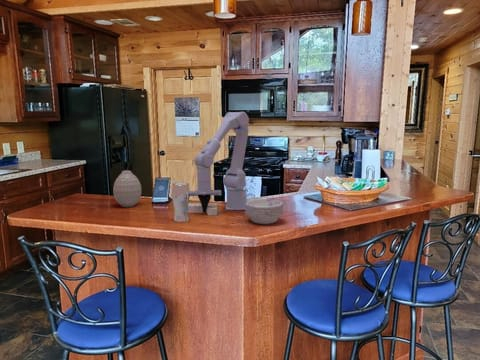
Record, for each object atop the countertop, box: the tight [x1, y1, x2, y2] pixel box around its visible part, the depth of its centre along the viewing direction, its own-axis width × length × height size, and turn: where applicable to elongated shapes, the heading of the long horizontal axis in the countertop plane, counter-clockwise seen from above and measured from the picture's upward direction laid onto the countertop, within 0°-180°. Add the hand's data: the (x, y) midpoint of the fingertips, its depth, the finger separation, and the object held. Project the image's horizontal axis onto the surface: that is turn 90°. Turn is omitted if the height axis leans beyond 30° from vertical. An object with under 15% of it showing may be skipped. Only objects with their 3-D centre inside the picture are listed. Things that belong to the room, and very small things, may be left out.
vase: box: [112, 170, 142, 208], centre depth 176 cm, size 13×13×17 cm
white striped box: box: [188, 202, 218, 214], centre depth 166 cm, size 13×6×3 cm, turn 91°
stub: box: [207, 205, 218, 216], centre depth 160 cm, size 4×5×3 cm
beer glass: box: [171, 182, 191, 223], centre depth 150 cm, size 7×7×15 cm
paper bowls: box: [245, 198, 284, 225], centre depth 149 cm, size 15×15×8 cm
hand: (204, 212), depth 160 cm, fingers closed
